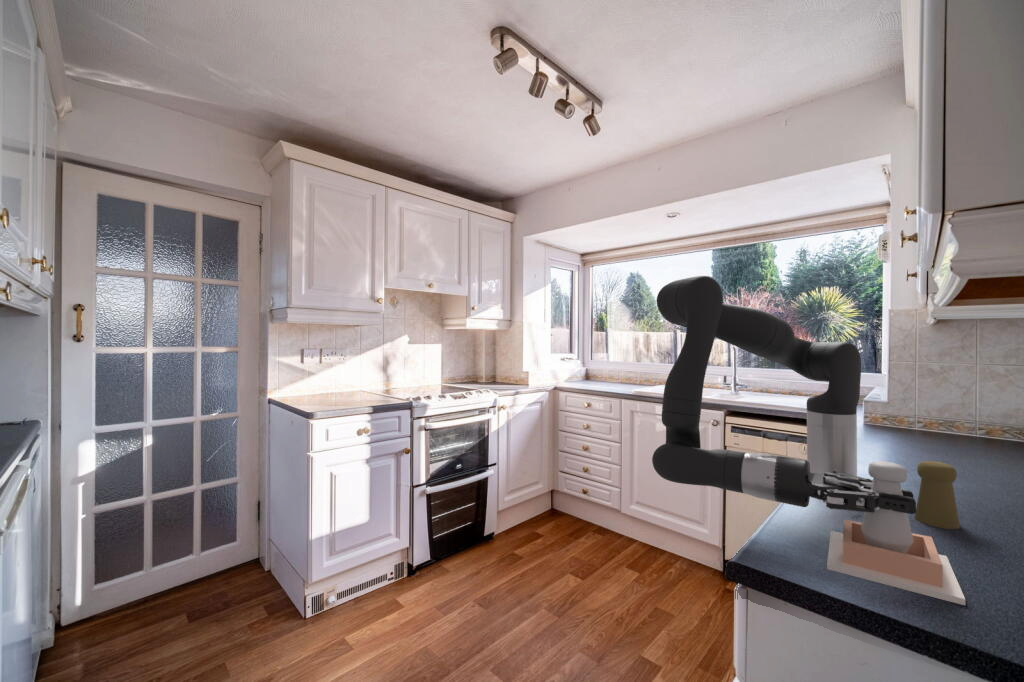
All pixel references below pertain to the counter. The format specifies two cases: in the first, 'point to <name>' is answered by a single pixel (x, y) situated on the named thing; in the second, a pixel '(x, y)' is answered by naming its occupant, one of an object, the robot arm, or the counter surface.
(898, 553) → the tray
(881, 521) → the salt shaker
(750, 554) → the counter surface
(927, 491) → the pepper shaker
